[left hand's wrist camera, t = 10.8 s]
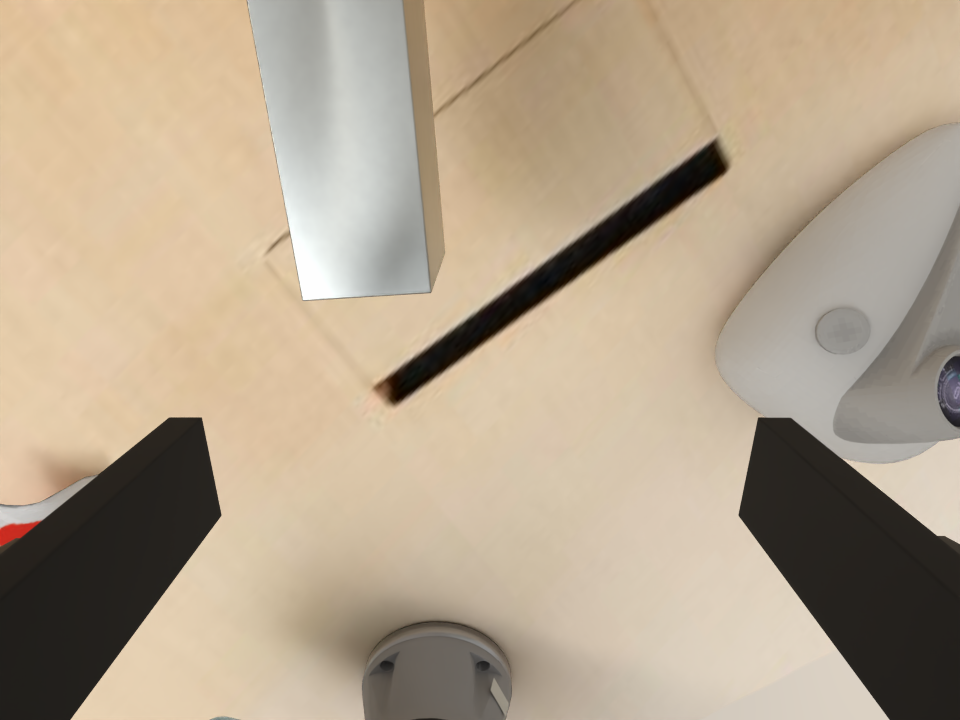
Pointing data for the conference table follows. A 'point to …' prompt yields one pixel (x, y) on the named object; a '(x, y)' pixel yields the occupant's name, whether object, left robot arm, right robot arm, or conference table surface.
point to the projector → (863, 313)
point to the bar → (353, 142)
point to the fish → (33, 512)
